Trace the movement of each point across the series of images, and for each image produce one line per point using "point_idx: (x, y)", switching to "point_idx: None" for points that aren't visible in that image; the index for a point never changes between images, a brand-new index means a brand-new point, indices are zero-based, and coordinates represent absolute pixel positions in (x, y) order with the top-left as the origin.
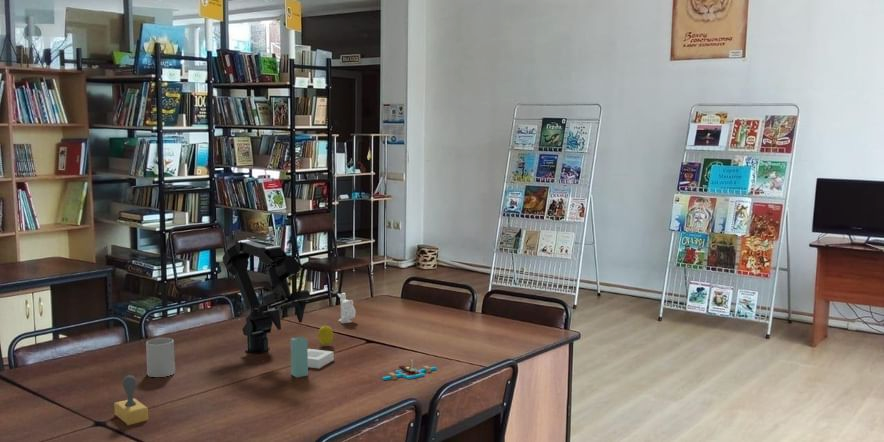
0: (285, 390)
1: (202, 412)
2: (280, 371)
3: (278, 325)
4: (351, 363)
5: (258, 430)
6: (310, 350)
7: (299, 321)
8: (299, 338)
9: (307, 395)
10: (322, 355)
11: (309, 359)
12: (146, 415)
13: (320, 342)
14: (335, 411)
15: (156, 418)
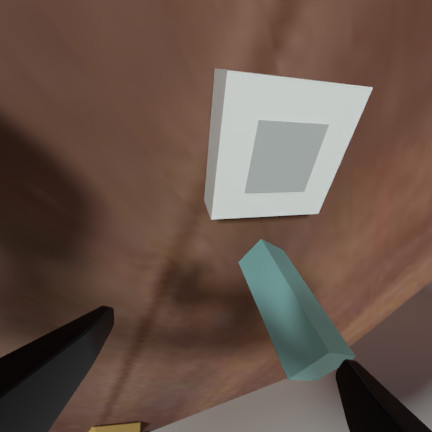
0: None
1: (187, 392)
2: (197, 257)
3: (91, 356)
4: (407, 104)
5: (276, 378)
6: (253, 105)
7: (346, 389)
8: (324, 365)
9: None
10: (326, 163)
11: (282, 214)
12: (139, 429)
13: None
14: (352, 327)
15: (146, 416)
